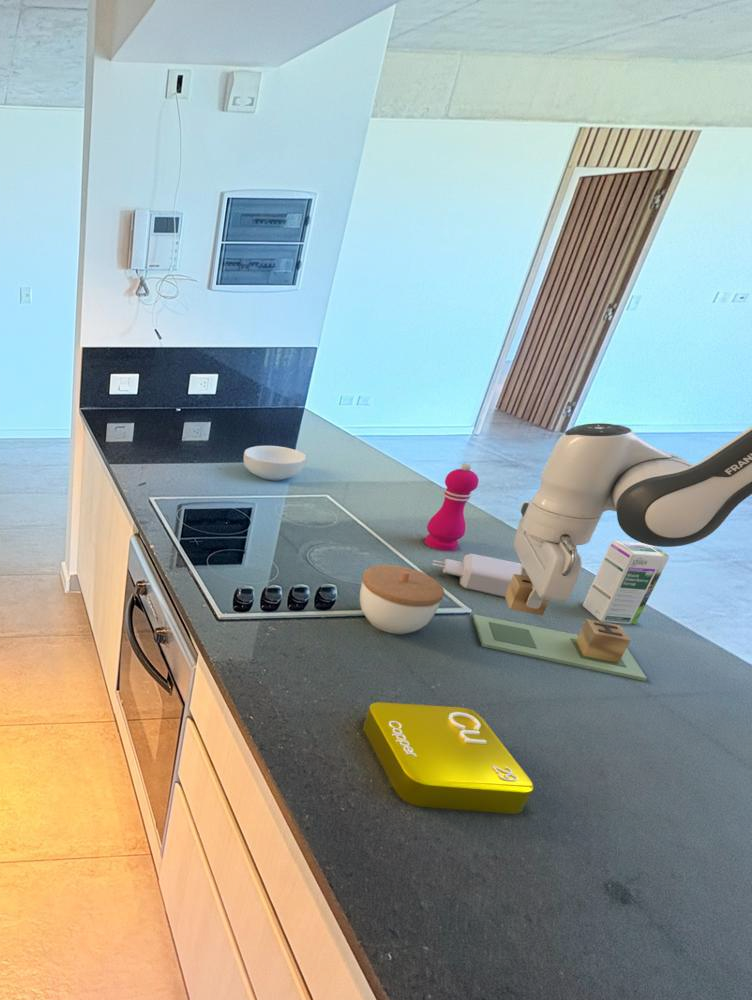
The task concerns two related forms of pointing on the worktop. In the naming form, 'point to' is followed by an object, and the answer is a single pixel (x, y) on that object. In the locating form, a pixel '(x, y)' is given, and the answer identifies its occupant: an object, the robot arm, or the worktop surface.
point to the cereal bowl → (274, 462)
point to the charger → (482, 573)
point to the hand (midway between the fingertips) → (527, 597)
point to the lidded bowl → (399, 598)
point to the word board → (548, 646)
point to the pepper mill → (452, 510)
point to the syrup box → (625, 581)
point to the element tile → (445, 758)
